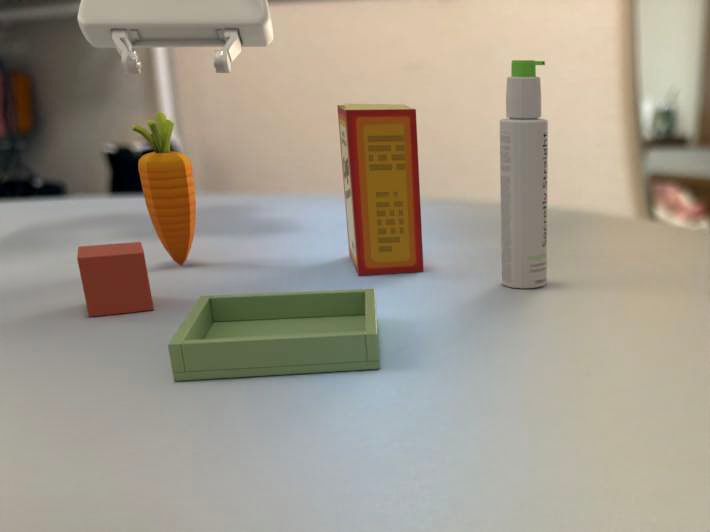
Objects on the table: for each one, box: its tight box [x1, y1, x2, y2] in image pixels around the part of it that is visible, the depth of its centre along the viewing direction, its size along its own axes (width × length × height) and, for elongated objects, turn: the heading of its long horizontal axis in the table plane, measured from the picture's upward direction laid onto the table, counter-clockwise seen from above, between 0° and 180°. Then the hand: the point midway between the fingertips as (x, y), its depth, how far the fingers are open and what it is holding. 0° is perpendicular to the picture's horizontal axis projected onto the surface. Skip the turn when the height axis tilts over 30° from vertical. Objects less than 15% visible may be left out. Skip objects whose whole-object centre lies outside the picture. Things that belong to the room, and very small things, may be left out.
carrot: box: [131, 112, 197, 266], centre depth 86 cm, size 5×5×15 cm
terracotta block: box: [76, 241, 155, 318], centre depth 73 cm, size 5×5×5 cm
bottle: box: [499, 59, 549, 290], centre depth 78 cm, size 4×4×20 cm
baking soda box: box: [337, 102, 424, 276], centre depth 87 cm, size 10×6×16 cm
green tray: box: [167, 288, 380, 382], centre depth 63 cm, size 14×13×3 cm
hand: (176, 69), depth 93 cm, fingers open, 8 cm apart
